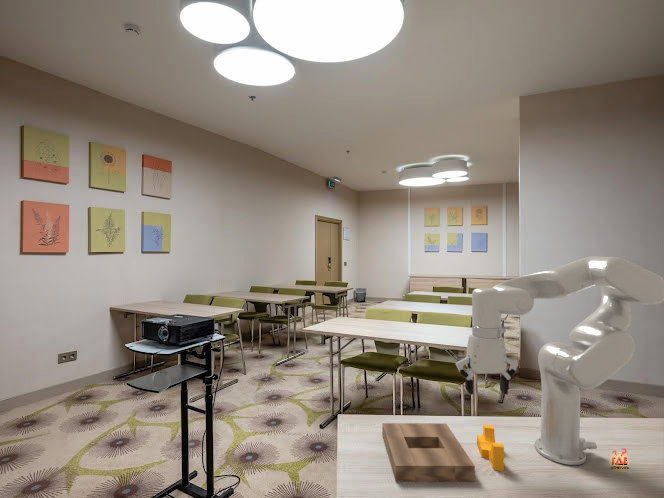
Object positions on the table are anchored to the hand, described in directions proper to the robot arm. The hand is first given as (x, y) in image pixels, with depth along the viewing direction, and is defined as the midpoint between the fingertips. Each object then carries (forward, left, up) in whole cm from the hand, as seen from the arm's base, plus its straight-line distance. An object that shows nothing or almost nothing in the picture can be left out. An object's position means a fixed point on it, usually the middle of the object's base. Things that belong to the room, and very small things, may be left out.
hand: (486, 392), depth 103 cm
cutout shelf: (+18, 0, -18) cm, 25 cm away
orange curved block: (-1, 0, -19) cm, 19 cm away
